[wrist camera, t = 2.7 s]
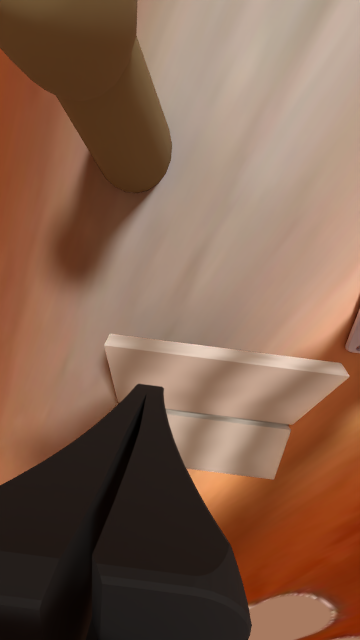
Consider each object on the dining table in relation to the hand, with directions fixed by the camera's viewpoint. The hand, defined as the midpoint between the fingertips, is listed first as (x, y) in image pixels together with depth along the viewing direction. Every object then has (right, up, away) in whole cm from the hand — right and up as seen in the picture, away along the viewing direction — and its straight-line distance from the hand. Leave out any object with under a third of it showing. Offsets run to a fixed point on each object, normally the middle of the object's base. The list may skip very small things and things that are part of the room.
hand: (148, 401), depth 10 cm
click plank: (+5, -1, +8) cm, 9 cm away
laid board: (+4, -9, +12) cm, 16 cm away
